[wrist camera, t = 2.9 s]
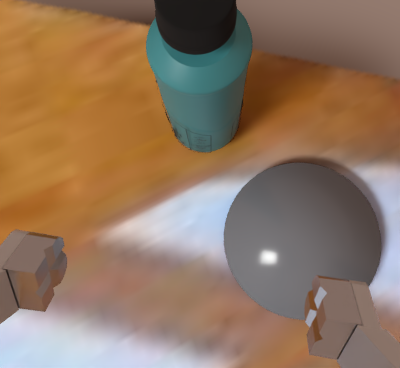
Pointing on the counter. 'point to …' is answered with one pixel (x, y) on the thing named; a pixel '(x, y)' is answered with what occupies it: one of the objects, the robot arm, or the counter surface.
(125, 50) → the counter surface
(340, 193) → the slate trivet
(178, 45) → the beverage bottle
